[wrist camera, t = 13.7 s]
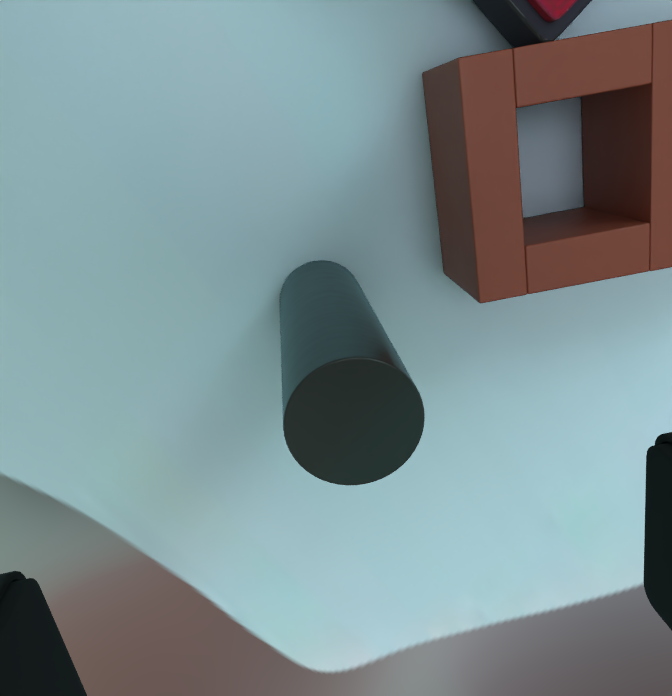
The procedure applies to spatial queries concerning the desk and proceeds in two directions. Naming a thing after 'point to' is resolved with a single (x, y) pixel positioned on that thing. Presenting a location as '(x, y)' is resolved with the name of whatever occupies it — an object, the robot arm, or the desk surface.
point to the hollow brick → (598, 162)
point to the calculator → (531, 18)
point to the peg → (342, 381)
